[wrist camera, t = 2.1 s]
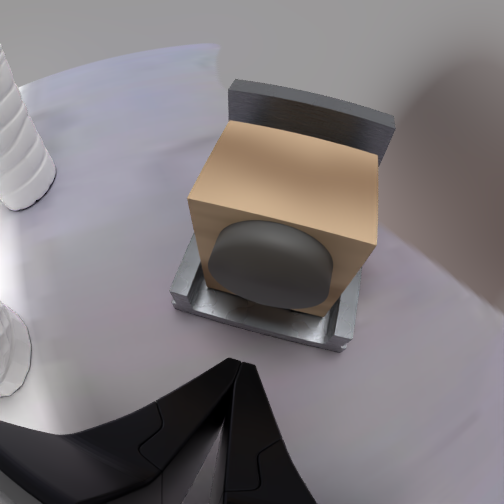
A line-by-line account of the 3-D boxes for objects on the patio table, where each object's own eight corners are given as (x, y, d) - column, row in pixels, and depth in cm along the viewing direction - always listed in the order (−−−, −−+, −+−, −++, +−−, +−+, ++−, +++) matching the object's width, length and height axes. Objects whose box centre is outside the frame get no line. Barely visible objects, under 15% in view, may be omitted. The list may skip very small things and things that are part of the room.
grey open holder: (340, 352, 17) (402, 306, 10) (174, 308, 18) (138, 238, 12) (360, 194, 24) (393, 116, 17) (235, 163, 25) (235, 79, 18)
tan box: (319, 336, 17) (374, 274, 10) (199, 305, 17) (174, 224, 10) (335, 245, 20) (377, 155, 13) (231, 219, 20) (229, 120, 14)
